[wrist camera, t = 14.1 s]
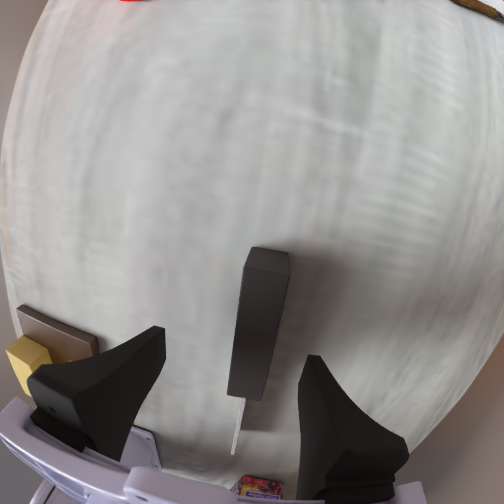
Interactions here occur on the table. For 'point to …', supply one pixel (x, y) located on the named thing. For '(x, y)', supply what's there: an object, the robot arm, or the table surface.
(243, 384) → the knife
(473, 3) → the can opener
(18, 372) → the butter block
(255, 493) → the snack box
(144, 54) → the table surface
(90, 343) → the board
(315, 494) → the robot arm
